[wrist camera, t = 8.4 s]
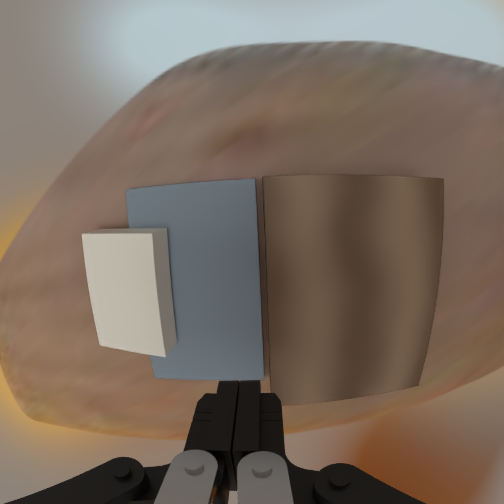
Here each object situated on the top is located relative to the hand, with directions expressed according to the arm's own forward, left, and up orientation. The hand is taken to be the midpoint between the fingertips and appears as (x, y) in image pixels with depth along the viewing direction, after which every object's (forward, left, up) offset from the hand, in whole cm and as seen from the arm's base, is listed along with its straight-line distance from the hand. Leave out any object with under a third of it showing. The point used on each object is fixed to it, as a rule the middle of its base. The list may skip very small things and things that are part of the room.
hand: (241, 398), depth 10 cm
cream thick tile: (+9, -1, -10) cm, 13 cm away
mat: (+4, 0, -12) cm, 13 cm away
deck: (-7, 0, -12) cm, 14 cm away
